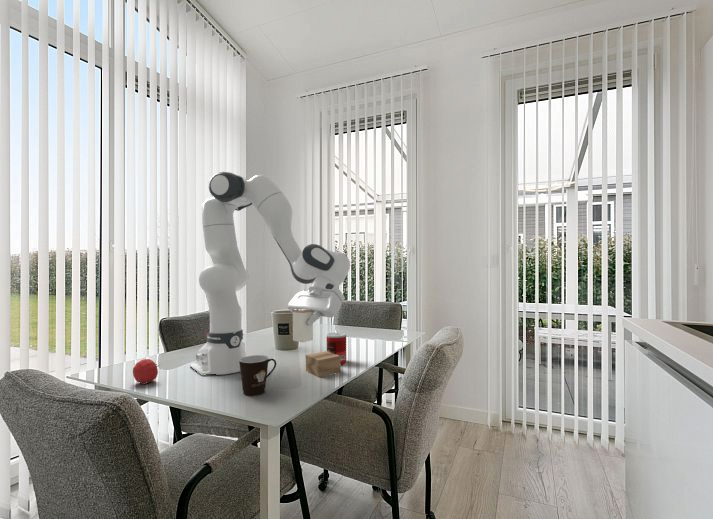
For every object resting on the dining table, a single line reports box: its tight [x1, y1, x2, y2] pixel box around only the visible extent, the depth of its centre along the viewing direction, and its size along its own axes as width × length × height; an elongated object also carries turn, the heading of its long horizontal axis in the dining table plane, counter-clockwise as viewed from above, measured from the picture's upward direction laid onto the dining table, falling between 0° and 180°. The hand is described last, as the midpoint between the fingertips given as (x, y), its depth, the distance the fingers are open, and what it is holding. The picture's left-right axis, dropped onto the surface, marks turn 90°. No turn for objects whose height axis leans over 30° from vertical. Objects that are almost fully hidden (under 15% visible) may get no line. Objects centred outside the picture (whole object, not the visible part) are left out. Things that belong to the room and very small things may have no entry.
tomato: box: [132, 358, 160, 384], centre depth 118 cm, size 8×8×8 cm
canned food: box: [326, 331, 347, 365], centre depth 140 cm, size 8×8×11 cm
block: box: [305, 350, 341, 378], centre depth 128 cm, size 9×9×6 cm
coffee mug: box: [239, 354, 277, 397], centre depth 109 cm, size 12×9×10 cm
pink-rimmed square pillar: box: [291, 308, 314, 343], centre depth 115 cm, size 5×5×10 cm
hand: (301, 323), depth 115 cm, fingers closed on pink-rimmed square pillar, 4 cm apart
